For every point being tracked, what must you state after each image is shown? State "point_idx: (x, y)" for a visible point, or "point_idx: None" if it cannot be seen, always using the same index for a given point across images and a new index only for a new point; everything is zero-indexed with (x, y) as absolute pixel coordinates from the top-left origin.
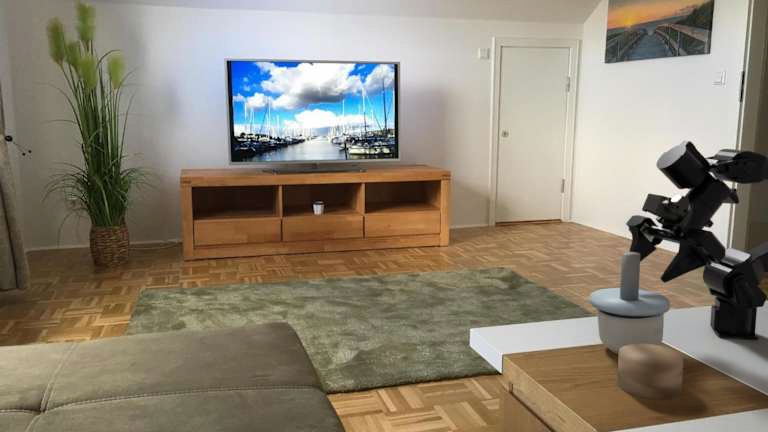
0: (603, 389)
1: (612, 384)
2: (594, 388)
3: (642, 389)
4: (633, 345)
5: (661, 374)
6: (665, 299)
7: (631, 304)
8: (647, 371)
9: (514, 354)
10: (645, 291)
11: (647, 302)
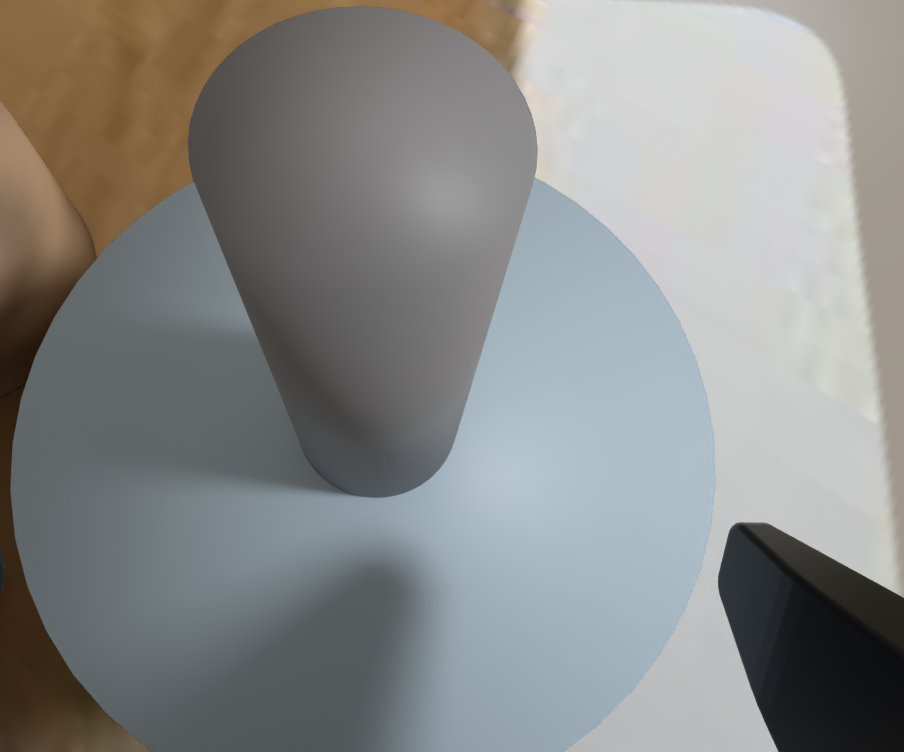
0: (40, 110)
1: (56, 165)
2: (68, 88)
3: None
4: (2, 202)
5: None
6: (192, 730)
7: (231, 326)
8: None
9: (504, 20)
10: (513, 736)
11: (209, 490)
